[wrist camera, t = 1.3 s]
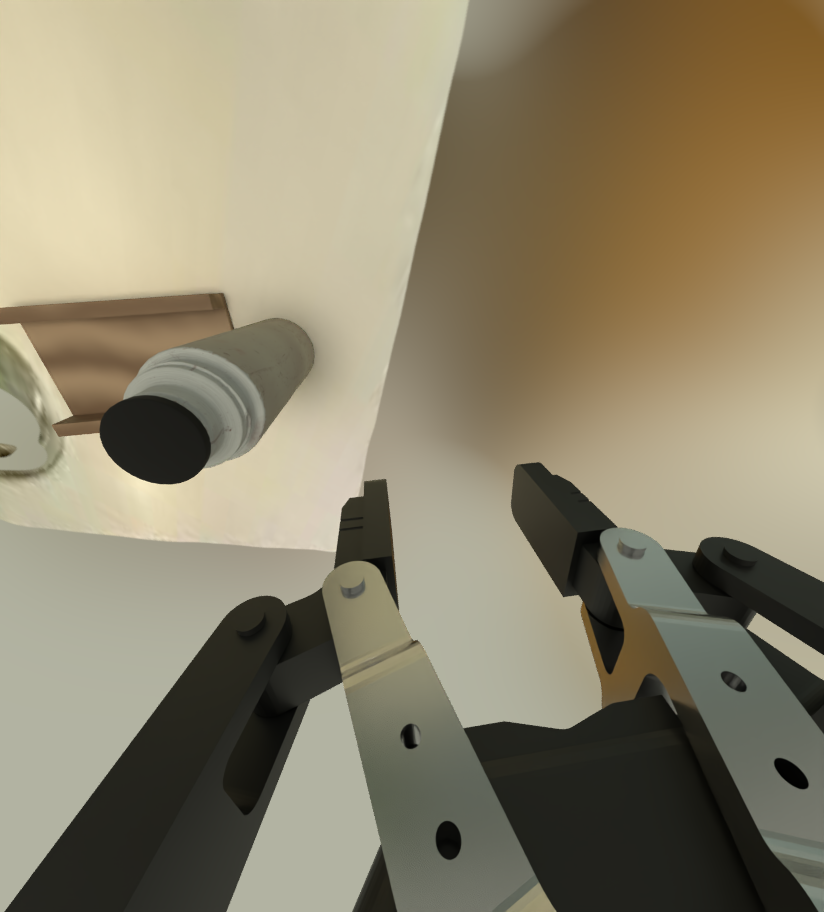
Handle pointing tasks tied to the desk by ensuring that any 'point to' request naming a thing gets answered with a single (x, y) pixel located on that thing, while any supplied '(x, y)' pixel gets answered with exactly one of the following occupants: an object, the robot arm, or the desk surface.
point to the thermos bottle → (205, 400)
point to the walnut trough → (111, 345)
